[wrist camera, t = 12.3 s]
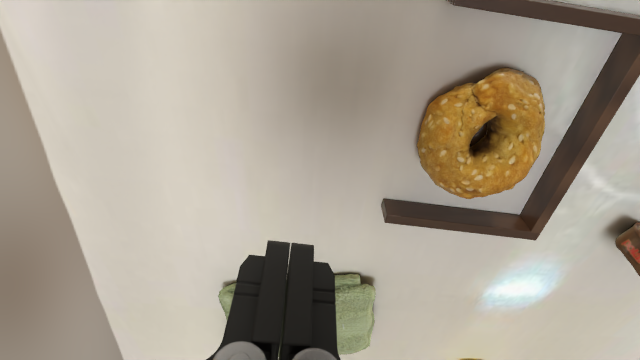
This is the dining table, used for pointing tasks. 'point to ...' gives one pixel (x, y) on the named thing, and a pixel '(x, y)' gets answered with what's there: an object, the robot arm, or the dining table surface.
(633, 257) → the tin
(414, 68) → the dining table surface
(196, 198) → the dining table surface
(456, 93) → the bagel
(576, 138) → the bay
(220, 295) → the washcloth
